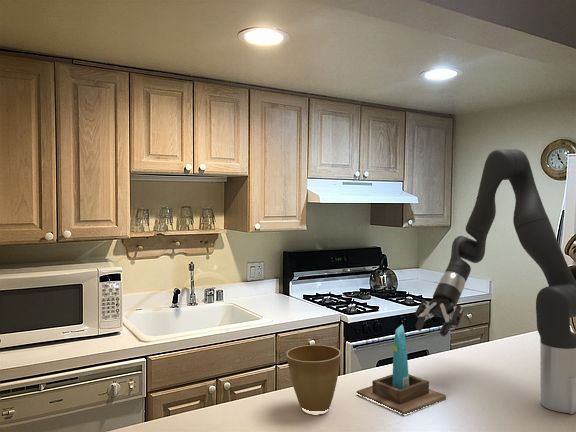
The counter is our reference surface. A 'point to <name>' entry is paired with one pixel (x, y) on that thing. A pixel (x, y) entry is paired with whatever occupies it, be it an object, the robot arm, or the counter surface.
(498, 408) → the counter surface
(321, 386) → the plant pot
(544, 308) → the robot arm
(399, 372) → the tube
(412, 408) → the socket board
